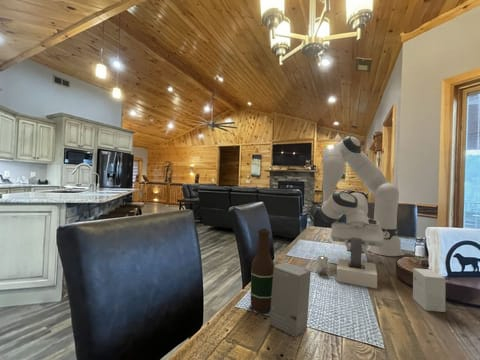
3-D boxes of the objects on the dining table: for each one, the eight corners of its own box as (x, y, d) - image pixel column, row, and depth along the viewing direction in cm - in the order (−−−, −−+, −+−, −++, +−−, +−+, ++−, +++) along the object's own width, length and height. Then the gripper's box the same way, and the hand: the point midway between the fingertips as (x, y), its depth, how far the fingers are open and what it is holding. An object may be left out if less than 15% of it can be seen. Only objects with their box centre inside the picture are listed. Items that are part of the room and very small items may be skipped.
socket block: (339, 269, 110) (339, 258, 110) (374, 275, 104) (374, 263, 104) (336, 281, 97) (336, 268, 97) (377, 288, 91) (377, 274, 91)
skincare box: (268, 325, 67) (270, 266, 67) (283, 315, 72) (284, 260, 72) (296, 339, 61) (297, 275, 61) (310, 327, 66) (311, 268, 66)
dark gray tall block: (350, 265, 103) (351, 237, 103) (361, 267, 102) (361, 238, 102) (350, 268, 100) (350, 239, 100) (361, 270, 98) (361, 240, 98)
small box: (445, 313, 75) (446, 278, 75) (424, 310, 76) (425, 276, 76) (431, 300, 83) (431, 269, 83) (412, 298, 84) (412, 267, 84)
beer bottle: (245, 303, 78) (247, 227, 78) (267, 299, 81) (268, 226, 81) (256, 316, 71) (258, 232, 71) (280, 311, 74) (281, 231, 74)
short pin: (318, 271, 108) (318, 255, 108) (327, 273, 106) (328, 256, 106) (316, 274, 104) (317, 257, 104) (326, 276, 102) (327, 259, 102)
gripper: (331, 217, 112) (328, 244, 103) (383, 221, 103) (385, 251, 94) (332, 225, 116) (329, 252, 107) (382, 230, 107) (384, 259, 98)
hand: (356, 251), depth 100 cm, fingers closed on dark gray tall block, 4 cm apart
